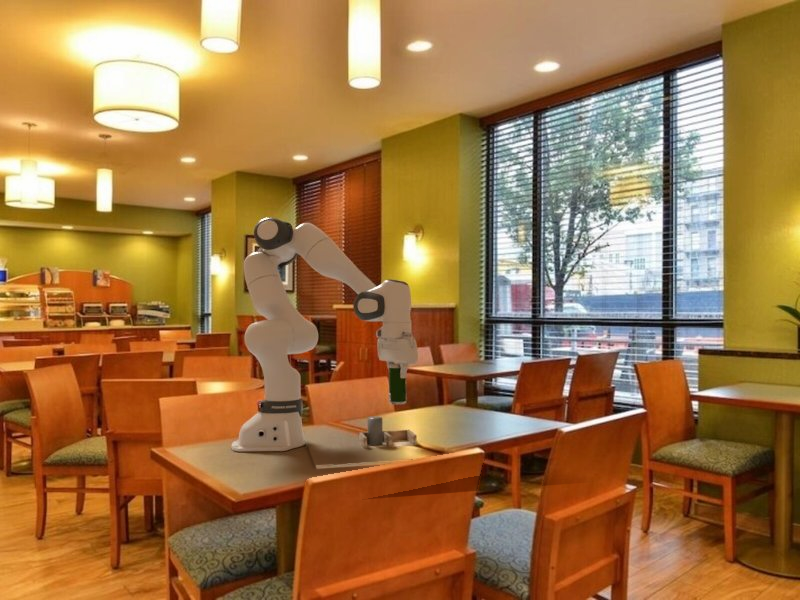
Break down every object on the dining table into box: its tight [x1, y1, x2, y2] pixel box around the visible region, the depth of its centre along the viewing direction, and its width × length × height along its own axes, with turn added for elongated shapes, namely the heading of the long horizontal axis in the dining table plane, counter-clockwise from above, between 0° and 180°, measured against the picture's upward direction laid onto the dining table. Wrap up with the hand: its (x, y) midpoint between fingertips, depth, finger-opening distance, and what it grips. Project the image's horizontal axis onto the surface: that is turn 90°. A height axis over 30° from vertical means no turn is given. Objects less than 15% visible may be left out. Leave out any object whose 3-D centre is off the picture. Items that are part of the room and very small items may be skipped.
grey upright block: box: [366, 416, 384, 446], centre depth 181 cm, size 5×5×8 cm
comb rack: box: [358, 429, 418, 449], centre depth 182 cm, size 16×9×4 cm, turn 103°
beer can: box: [388, 362, 408, 405], centre depth 183 cm, size 5×5×12 cm
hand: (397, 377), depth 183 cm, fingers closed on beer can, 5 cm apart
